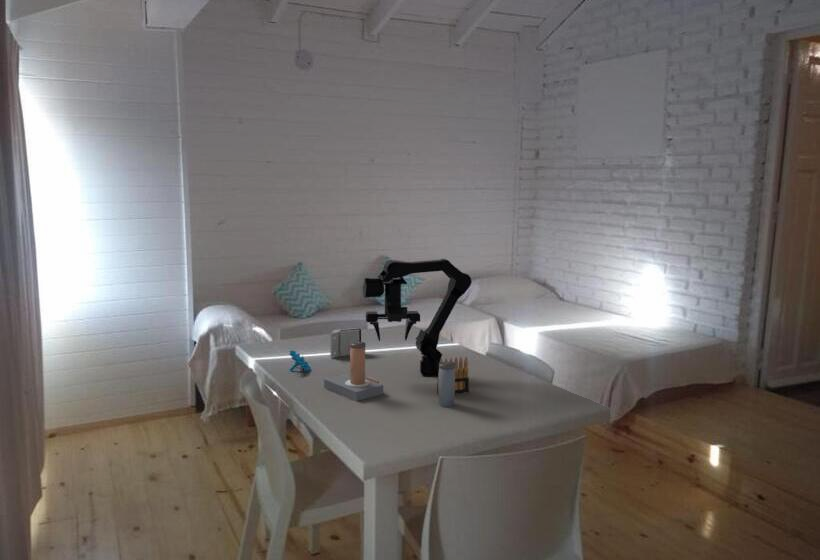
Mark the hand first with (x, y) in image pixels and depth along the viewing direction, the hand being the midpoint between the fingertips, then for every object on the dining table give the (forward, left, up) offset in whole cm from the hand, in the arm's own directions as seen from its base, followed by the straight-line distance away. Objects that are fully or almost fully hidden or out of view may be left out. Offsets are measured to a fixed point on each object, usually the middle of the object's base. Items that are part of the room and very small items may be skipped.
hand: (392, 340), depth 234 cm
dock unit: (+14, +15, -13) cm, 24 cm away
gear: (+32, -10, -13) cm, 37 cm away
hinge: (+16, -30, -13) cm, 37 cm away
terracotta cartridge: (+13, +17, -10) cm, 23 cm away
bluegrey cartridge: (-14, +31, -13) cm, 36 cm away
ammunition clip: (-18, +20, -13) cm, 30 cm away
